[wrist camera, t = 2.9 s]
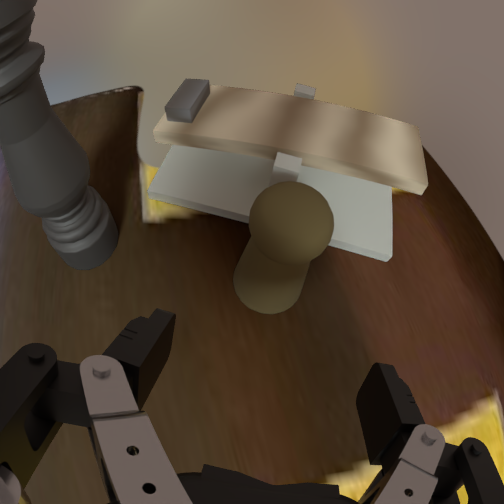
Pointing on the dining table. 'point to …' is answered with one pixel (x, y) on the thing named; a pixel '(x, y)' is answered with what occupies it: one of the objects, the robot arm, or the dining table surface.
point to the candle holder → (47, 151)
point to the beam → (295, 132)
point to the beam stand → (267, 174)
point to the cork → (282, 245)
